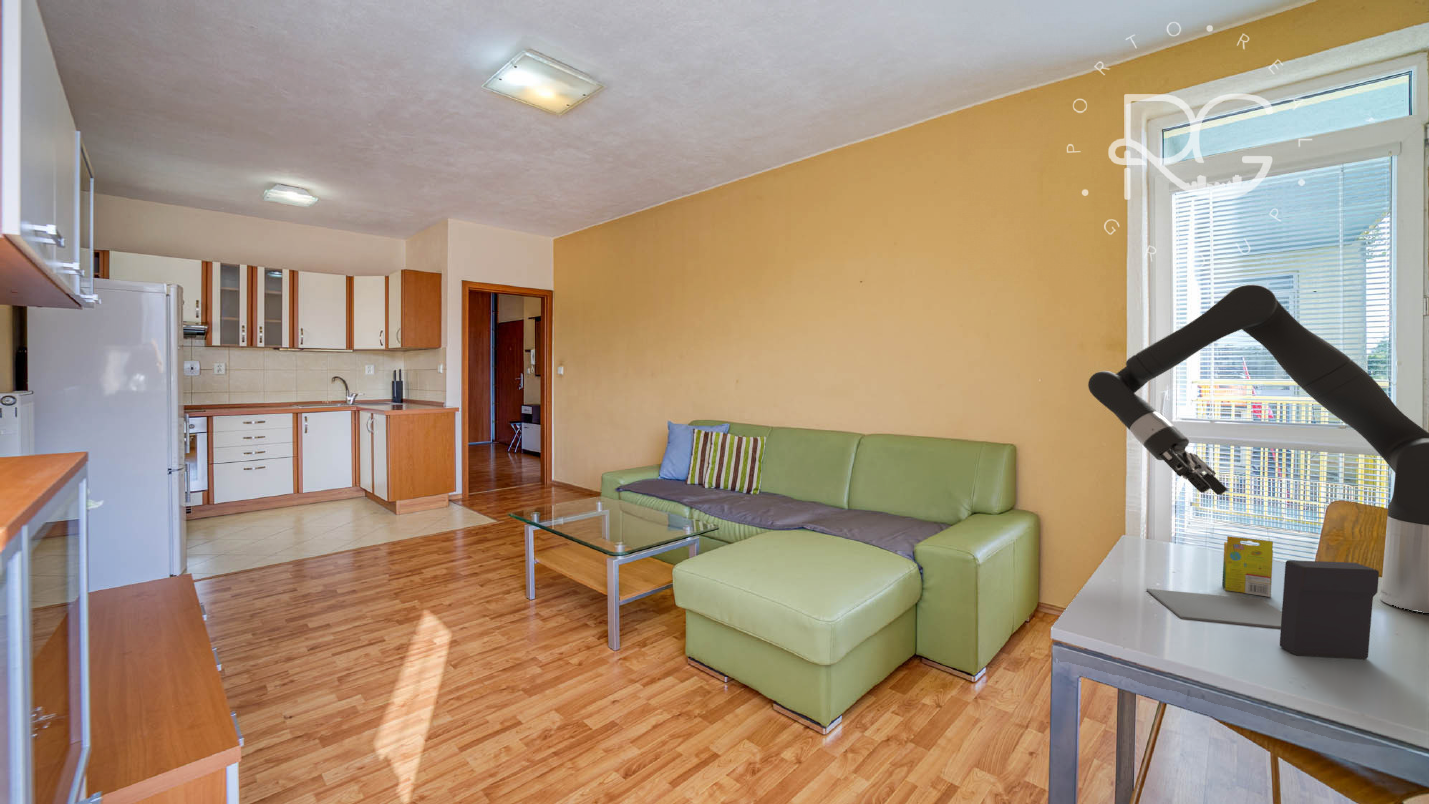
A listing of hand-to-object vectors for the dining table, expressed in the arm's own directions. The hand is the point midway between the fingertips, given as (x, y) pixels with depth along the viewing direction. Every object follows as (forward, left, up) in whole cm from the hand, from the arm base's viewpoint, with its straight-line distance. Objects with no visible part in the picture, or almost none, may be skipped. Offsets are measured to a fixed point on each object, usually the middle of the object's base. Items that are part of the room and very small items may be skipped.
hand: (1215, 491), depth 127 cm
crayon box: (-4, +5, -20) cm, 21 cm away
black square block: (0, +33, -20) cm, 39 cm away
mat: (+6, +17, -20) cm, 27 cm away
